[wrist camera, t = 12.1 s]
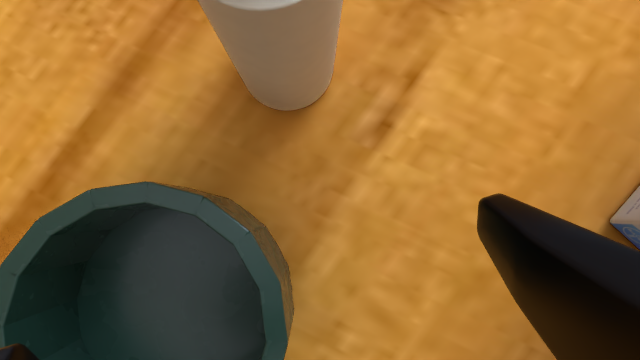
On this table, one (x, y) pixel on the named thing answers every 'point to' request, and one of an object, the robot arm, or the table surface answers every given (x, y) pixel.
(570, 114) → the table surface
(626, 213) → the medicine box
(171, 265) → the tin
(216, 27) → the bottle
